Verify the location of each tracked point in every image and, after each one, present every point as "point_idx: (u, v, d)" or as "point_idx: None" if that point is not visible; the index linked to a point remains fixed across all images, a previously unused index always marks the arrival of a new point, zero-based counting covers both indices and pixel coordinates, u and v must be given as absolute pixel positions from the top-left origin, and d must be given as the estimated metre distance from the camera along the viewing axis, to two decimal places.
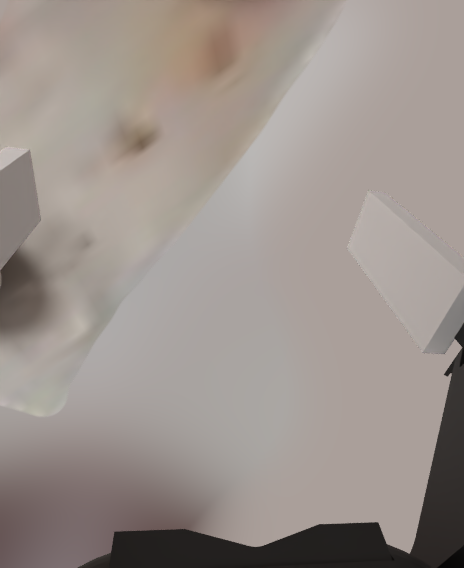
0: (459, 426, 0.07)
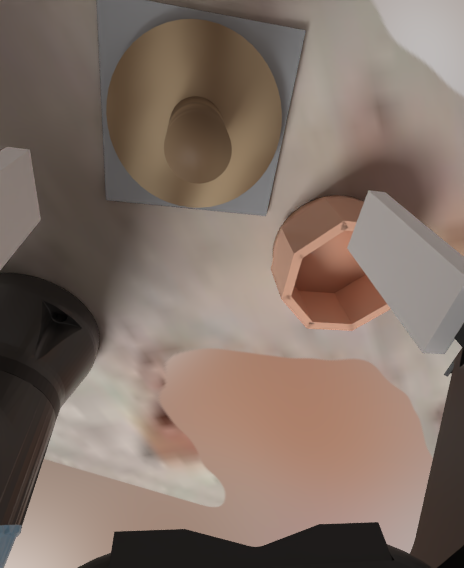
0: (459, 426, 0.07)
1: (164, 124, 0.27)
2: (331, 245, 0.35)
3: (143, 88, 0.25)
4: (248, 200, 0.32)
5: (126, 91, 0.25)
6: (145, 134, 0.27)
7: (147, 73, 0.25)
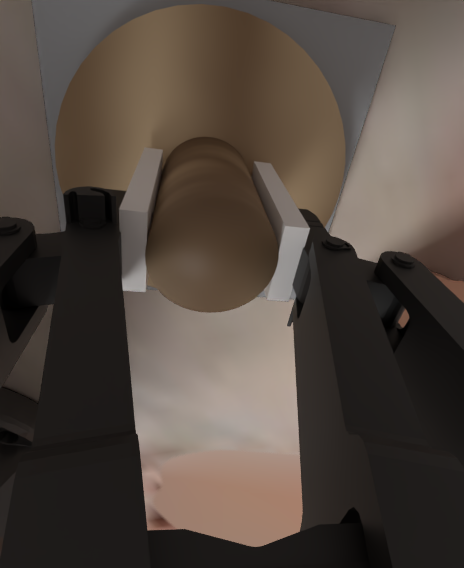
0: (311, 381, 0.08)
1: None
2: None
3: (116, 124, 0.15)
4: None
5: (87, 129, 0.15)
6: None
7: (122, 100, 0.14)
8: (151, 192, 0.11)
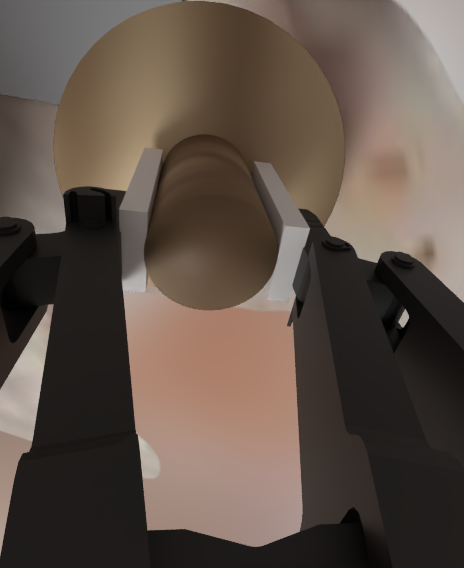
0: (311, 381, 0.08)
1: None
2: None
3: (115, 122, 0.15)
4: None
5: (86, 127, 0.15)
6: None
7: (121, 97, 0.14)
8: (151, 192, 0.11)
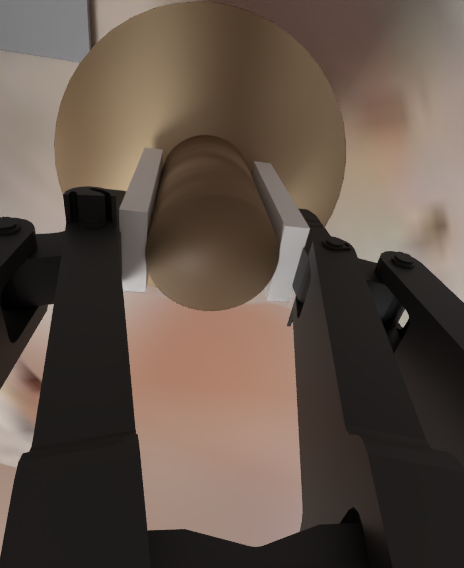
0: (311, 381, 0.08)
1: None
2: None
3: (116, 123, 0.15)
4: (56, 33, 0.22)
5: (87, 128, 0.15)
6: None
7: (122, 98, 0.14)
8: (151, 192, 0.11)
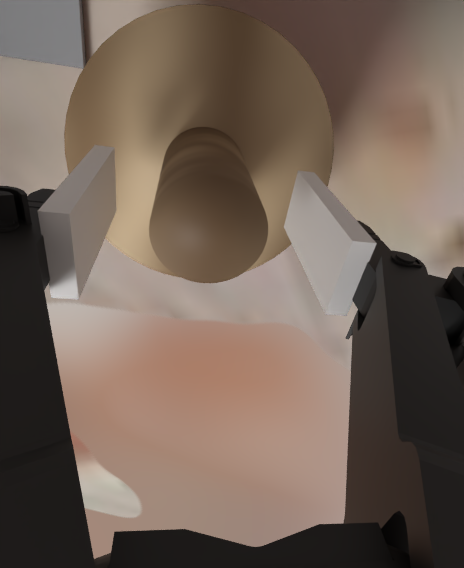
0: (366, 392, 0.08)
1: (155, 167, 0.18)
2: None
3: (121, 115, 0.16)
4: (44, 34, 0.19)
5: (95, 120, 0.16)
6: (126, 182, 0.18)
7: (127, 92, 0.16)
8: (83, 192, 0.10)
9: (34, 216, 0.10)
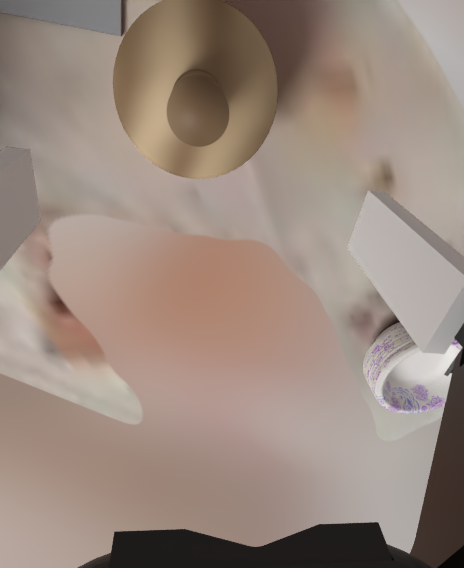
0: (459, 426, 0.07)
1: (167, 95, 0.29)
2: None
3: (148, 60, 0.27)
4: (97, 12, 0.30)
5: (132, 62, 0.27)
6: (149, 104, 0.29)
7: (152, 45, 0.27)
8: None
9: None
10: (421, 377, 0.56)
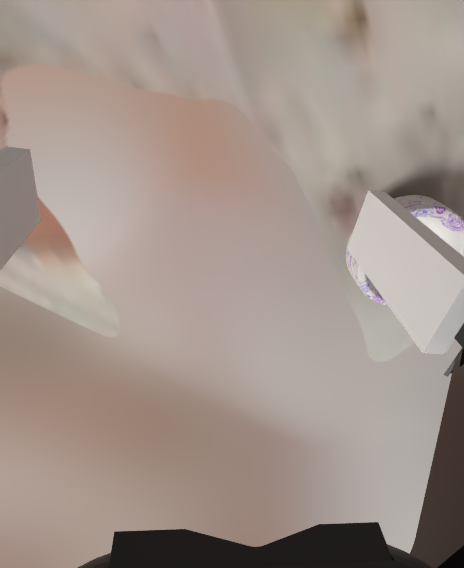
0: (459, 426, 0.07)
1: None
2: None
3: None
4: None
5: None
6: None
7: None
8: None
9: None
10: None
